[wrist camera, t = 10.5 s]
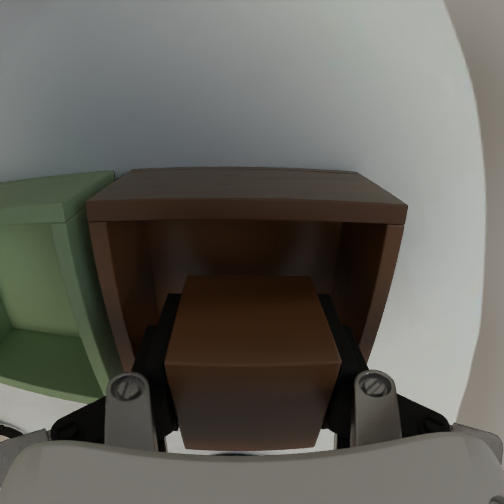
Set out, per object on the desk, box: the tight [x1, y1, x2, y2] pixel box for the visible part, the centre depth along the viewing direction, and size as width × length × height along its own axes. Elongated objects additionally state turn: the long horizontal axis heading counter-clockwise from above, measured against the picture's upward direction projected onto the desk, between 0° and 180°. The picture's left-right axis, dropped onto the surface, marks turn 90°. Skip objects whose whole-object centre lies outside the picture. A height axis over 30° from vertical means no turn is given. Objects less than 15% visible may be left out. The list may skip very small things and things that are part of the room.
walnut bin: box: [85, 167, 408, 372], centre depth 14 cm, size 10×10×5 cm
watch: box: [0, 425, 23, 439], centre depth 24 cm, size 8×5×4 cm, turn 98°
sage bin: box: [0, 171, 124, 404], centre depth 13 cm, size 10×10×5 cm
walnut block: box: [164, 275, 342, 451], centre depth 10 cm, size 4×4×4 cm
